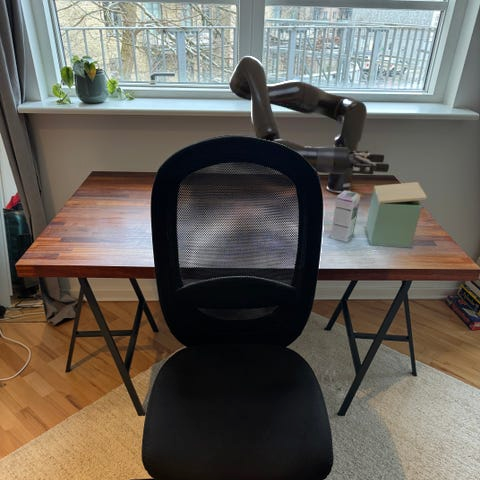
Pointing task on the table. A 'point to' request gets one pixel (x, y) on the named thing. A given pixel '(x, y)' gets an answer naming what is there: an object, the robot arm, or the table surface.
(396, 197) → the lid
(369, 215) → the box
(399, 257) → the table surface
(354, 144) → the robot arm
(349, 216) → the syrup box
